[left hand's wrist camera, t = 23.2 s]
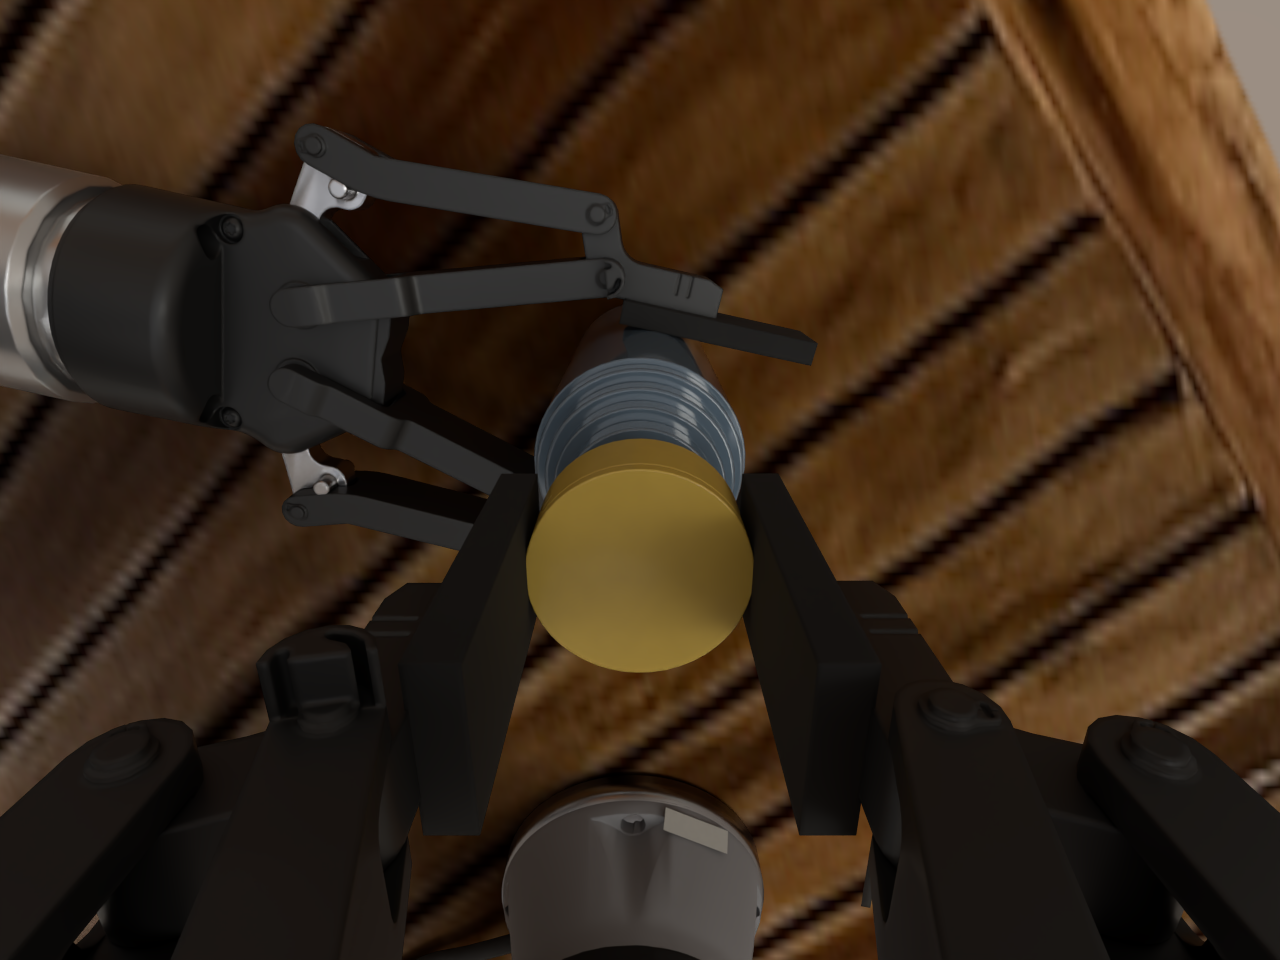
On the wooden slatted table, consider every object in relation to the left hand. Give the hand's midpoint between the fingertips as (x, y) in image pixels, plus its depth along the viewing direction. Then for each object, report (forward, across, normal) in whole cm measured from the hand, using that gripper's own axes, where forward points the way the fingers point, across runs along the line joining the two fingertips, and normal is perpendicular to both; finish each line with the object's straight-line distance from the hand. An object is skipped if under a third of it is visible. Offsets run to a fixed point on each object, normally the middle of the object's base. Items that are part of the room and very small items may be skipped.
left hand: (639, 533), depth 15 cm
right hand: (+11, -5, +1) cm, 12 cm away
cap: (-2, 0, 0) cm, 2 cm away
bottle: (+17, 0, 0) cm, 17 cm away
